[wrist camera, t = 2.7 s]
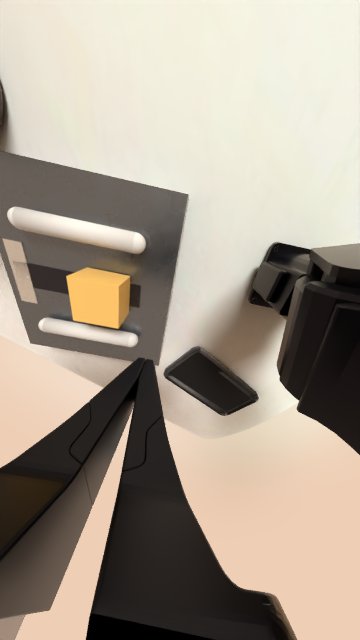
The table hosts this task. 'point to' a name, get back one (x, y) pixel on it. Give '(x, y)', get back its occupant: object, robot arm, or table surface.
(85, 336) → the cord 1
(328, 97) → the table surface
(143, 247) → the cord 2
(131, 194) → the panel
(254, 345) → the table surface
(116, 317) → the block
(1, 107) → the supplement bottle
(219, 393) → the phone
